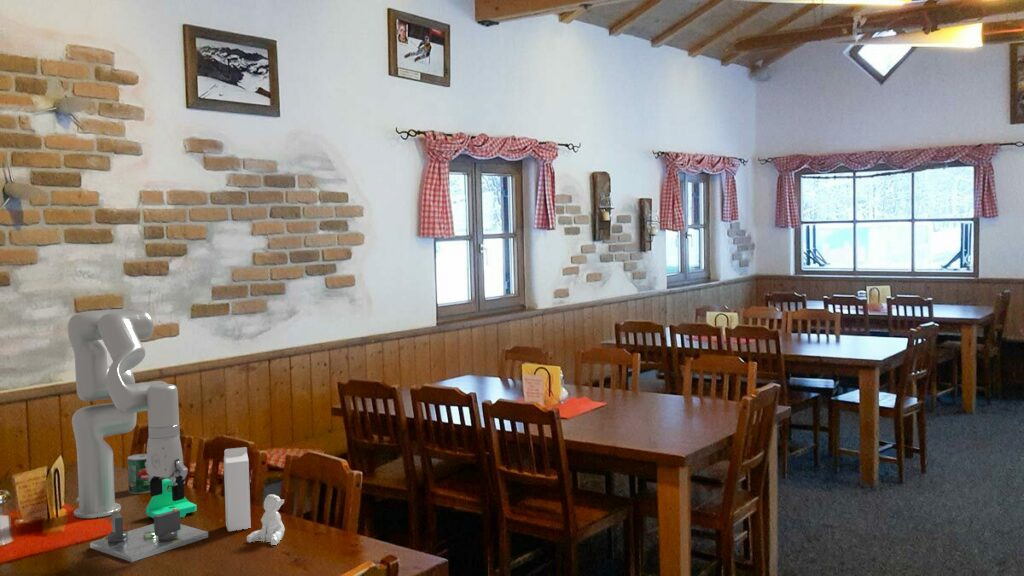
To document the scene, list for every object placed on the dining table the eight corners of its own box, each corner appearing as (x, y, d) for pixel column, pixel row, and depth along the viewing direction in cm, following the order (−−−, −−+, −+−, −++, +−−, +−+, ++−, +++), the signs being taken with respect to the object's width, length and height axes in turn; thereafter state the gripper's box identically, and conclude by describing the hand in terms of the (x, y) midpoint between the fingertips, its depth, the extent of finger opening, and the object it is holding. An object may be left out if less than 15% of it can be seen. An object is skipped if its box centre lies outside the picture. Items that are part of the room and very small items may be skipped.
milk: (250, 528, 245) (248, 449, 244) (227, 532, 242) (225, 451, 241) (248, 522, 250) (245, 444, 249) (225, 525, 248) (223, 447, 247)
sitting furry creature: (245, 543, 233) (243, 497, 232) (265, 532, 241) (264, 489, 240) (275, 546, 230) (273, 500, 229) (295, 536, 238) (293, 492, 237)
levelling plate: (90, 547, 231) (89, 538, 231) (166, 525, 249) (166, 516, 249) (131, 562, 220) (131, 552, 220) (208, 537, 238) (207, 528, 238)
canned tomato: (149, 493, 282) (147, 459, 281) (124, 494, 282) (122, 459, 281) (159, 486, 290) (158, 453, 289) (135, 487, 290) (133, 453, 289)
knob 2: (151, 539, 232) (150, 512, 232) (173, 532, 237) (172, 506, 237) (162, 543, 229) (161, 515, 229) (184, 536, 234) (183, 509, 234)
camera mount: (157, 523, 251) (155, 487, 251) (146, 518, 257) (144, 482, 256) (198, 514, 259) (196, 479, 259) (186, 509, 265) (185, 474, 264)
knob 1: (109, 544, 228) (108, 517, 228) (106, 538, 234) (105, 511, 234) (129, 541, 231) (128, 514, 231) (125, 534, 236) (124, 508, 236)
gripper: (132, 431, 234) (135, 496, 234) (170, 437, 224) (174, 505, 224) (158, 426, 240) (161, 490, 240) (196, 432, 230) (200, 498, 230)
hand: (167, 497), depth 232 cm, fingers open, 9 cm apart
